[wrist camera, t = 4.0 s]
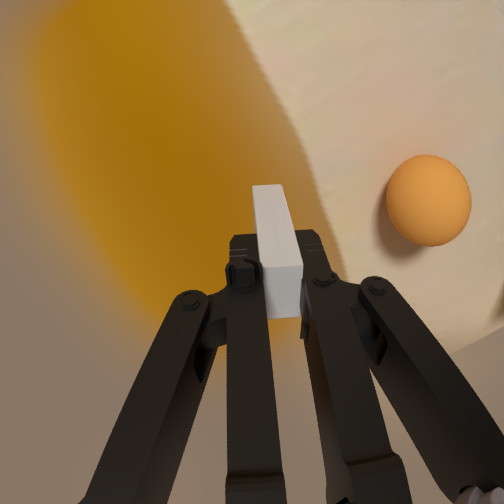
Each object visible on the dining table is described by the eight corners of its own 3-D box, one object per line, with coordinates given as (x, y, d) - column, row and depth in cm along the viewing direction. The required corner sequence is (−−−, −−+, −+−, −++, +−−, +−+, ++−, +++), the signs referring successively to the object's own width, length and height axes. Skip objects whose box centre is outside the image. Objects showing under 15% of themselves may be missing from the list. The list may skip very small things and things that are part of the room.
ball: (378, 139, 18) (419, 177, 13) (449, 145, 18) (498, 182, 13) (368, 216, 21) (397, 268, 17) (434, 214, 21) (471, 262, 17)
